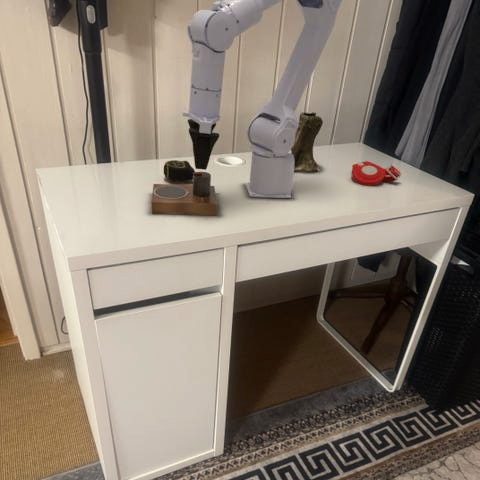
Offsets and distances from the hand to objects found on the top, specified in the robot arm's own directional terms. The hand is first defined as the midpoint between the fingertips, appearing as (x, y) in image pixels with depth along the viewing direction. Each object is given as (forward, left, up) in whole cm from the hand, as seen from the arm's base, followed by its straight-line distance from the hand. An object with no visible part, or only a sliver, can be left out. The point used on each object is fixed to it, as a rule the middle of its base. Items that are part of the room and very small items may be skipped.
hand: (199, 163), depth 93 cm
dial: (0, 0, -6) cm, 6 cm away
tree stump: (-28, -28, -9) cm, 41 cm away
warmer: (+3, 0, -9) cm, 9 cm away
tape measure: (+4, -15, -9) cm, 18 cm away
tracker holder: (-45, -19, -9) cm, 50 cm away
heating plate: (+6, 0, -6) cm, 9 cm away
